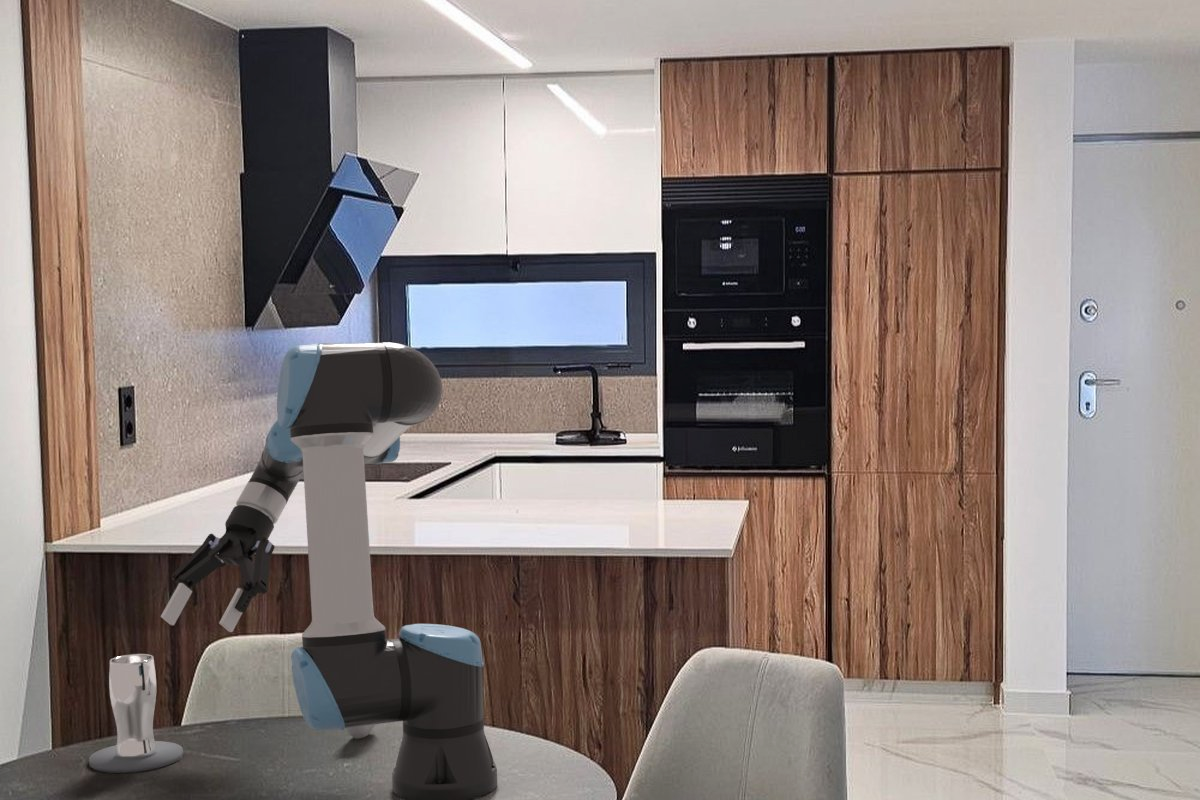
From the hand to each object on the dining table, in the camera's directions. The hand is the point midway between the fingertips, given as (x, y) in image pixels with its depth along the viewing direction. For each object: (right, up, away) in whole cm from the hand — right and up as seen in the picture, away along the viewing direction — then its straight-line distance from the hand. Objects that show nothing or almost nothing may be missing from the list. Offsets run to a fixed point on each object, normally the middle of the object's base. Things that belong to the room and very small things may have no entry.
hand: (195, 624), depth 236 cm
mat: (-7, -20, -8) cm, 22 cm away
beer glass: (-7, -19, -8) cm, 22 cm away
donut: (+27, -19, +1) cm, 33 cm away
